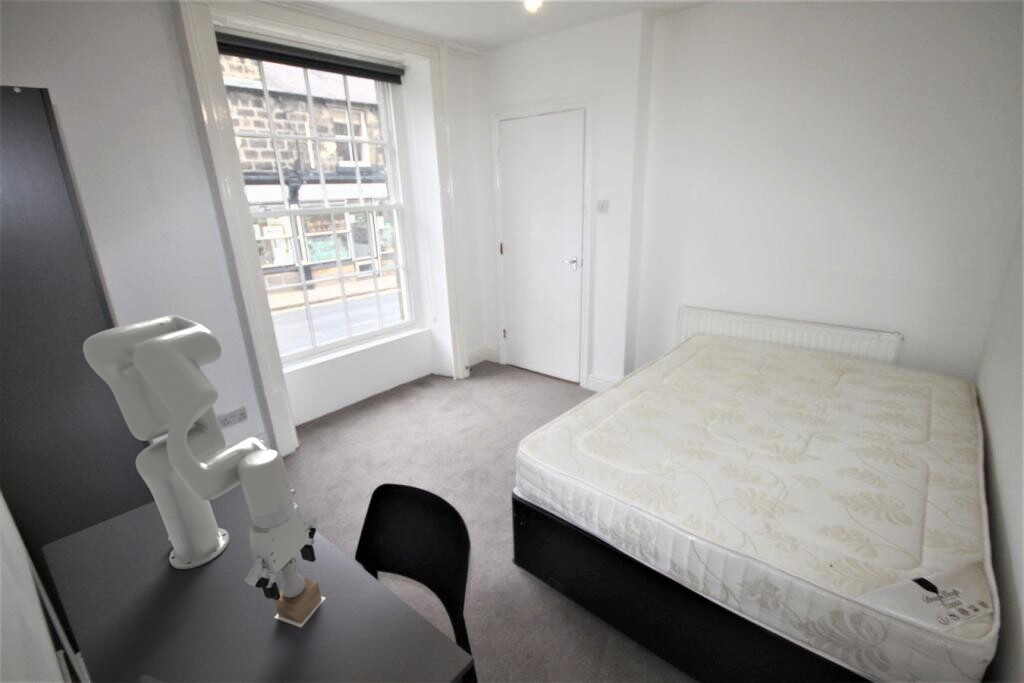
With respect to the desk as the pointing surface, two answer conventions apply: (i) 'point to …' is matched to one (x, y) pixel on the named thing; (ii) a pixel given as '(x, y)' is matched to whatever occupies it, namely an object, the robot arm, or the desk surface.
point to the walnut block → (299, 602)
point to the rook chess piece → (292, 580)
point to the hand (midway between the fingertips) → (292, 577)
